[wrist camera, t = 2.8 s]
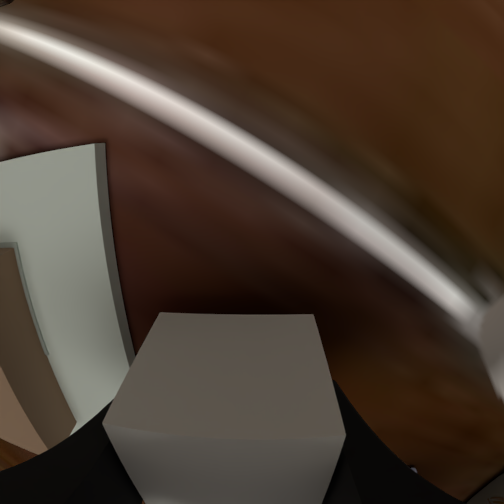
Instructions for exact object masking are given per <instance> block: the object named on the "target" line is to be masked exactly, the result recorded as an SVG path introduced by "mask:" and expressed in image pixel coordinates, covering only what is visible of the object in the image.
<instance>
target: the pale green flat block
mask: <svg viewBox="0 0 504 504" xmlns="http://www.w3.org/2000/svg"><path fill="white" fill-rule="evenodd" d="M134 359H135V353H134V349H133V345H132V340H131V336H130V332H129V327H128V322H127V318H126V313H125V308H124V303H123V297H122V292H121V287H120V281H119V275H118V269H117V262H116V256H115V249H114V241H113V234H112V225H111V217H110V207H109V196H108V184H107V170H106V152H105V143H96V144H88V145H82V146H76V147H70V148H64V149H59V150H53V151H48V152H43V153H38V154H33V155H29V156H24V157H20V158H15V159H11V160H7V161H3V162H0V438H1V439H4V440H6V441H8V442H10V443H12V444H14V445H17V446H19V447H21V448H24V449H26V450H28V451H31V452H33V453H36V454H38V455H39V454H41V453H43V452H45V451H47V450H49V449H50V448H52V447H54V446H55V445H57V444H58V443H60V442H62V441H63V440H65V439H66V438H68V437H69V436H70V435H72V434H73V433H74V432H76V431H77V430H78V429H80V428H81V427H82V426H83V425H84V424H86V423H87V422H88V421H89V420H91V419H92V418H93V417H94V416H95V415H96V414H98V413H99V412H100V411H101V410H102V409H103V408H104V407H105V406H106V405H107V404H108V403H110V402H111V401H112V400H113V399H114V398H115V396H116V394H117V392H118V390H119V388H120V386H121V384H122V382H123V380H124V378H125V376H126V374H127V373H128V371H129V369H130V367H131V365H132V363H133V361H134Z"/></svg>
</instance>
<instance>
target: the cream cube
mask: <svg viewBox="0 0 504 504" xmlns="http://www.w3.org/2000/svg"><path fill="white" fill-rule="evenodd" d="M102 424H103V426H104V428H105V431H106V433H107V435H108V437H109V439H110V441H111V443H112V445H113V447H114V449H115V451H116V453H117V455H118V457H119V458H120V460H121V462H122V464H123V466H124V468H125V470H126V471H127V473H128V475H129V477H130V478H131V480H132V482H133V484H134V485H135V487H136V489H137V490H138V492H139V494H140V495H141V497H142V498H143V500H144V502H145V503H146V504H322V502H323V499H324V496H325V494H326V491H327V489H328V486H329V483H330V481H331V478H332V475H333V473H334V470H335V467H336V464H337V461H338V458H339V455H340V452H341V449H342V446H343V443H344V440H345V437H346V433H345V429H344V425H343V421H342V417H341V413H340V409H339V405H338V401H337V398H336V394H335V390H334V386H333V382H332V379H331V375H330V371H329V368H328V364H327V360H326V357H325V353H324V350H323V346H322V342H321V339H320V335H319V332H318V328H317V325H316V321H315V318H314V314H288V315H238V314H191V313H165V312H160V313H159V315H158V317H157V319H156V320H155V322H154V324H153V326H152V328H151V329H150V331H149V333H148V335H147V337H146V339H145V341H144V342H143V344H142V346H141V348H140V350H139V352H138V354H137V355H136V357H135V359H134V361H133V363H132V365H131V367H130V369H129V371H128V373H127V374H126V376H125V378H124V380H123V382H122V384H121V386H120V388H119V390H118V392H117V394H116V396H115V398H114V400H113V402H112V404H111V406H110V408H109V410H108V412H107V414H106V416H105V418H104V420H103V422H102Z"/></svg>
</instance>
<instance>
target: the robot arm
mask: <svg viewBox="0 0 504 504" xmlns="http://www.w3.org/2000/svg"><path fill="white" fill-rule="evenodd" d="M332 382H333V386H334V390H335V394H336V398H337V401H338V405H339V409H340V413H341V417H342V421H343V425H344V429H345V433H346V437H345V440H344V443H343V446H342V449H341V452H340V455H339V458H338V461H337V464H336V467H335V470H334V473H333V475H332V478H331V481H330V483H329V486H328V489H327V491H326V494H325V496H324V499H323V502H322V504H466V503H464V502H462V501H460V500H458V499H456V498H454V497H452V496H450V495H449V494H447V493H445V492H444V491H442V490H440V489H439V488H437V487H436V486H434V485H433V484H431V483H430V482H428V481H427V480H425V479H424V478H423V477H421V476H420V475H419V474H417V471H416V468H410V467H409V466H407V465H406V464H405V463H404V462H403V461H402V460H401V459H399V458H398V457H397V456H396V455H395V454H394V453H393V452H392V451H391V450H390V449H389V448H388V447H387V446H386V445H385V444H384V443H383V442H382V441H381V440H380V439H379V438H378V436H377V435H376V434H375V433H374V432H373V431H372V430H371V428H370V427H369V426H368V425H367V423H366V422H365V421H364V420H363V419H362V417H361V416H360V415H359V414H358V412H357V411H356V410H355V408H354V407H353V406H352V404H351V403H350V401H349V400H348V399H347V397H346V396H345V394H344V393H343V391H342V390H341V388H340V387H339V385H338V384H337V382H336V381H335V380H332ZM113 400H114V399H113ZM113 400H112V401H111V402H110V403H108V404H107V405H106V406H105V407H104V408H103V409H102V410H101V411H100V412H99V413H98V414H96V415H95V416H94V417H93V418H92V419H91V420H89V421H88V422H87V423H86V424H84V425H83V426H82V427H81V428H80V429H78V430H77V431H76V432H74V433H73V434H72V435H70V436H69V437H68V438H66V439H65V440H63V441H62V442H60V443H58V444H57V445H55V446H54V447H52V448H50V449H49V450H47V451H45V452H43V453H41V454H39V455H37V456H35V457H34V458H32V459H30V460H28V461H25V462H23V463H21V464H18V465H16V466H14V467H11V468H8V469H5V470H2V471H0V504H142V500H143V498H142V497H141V495H140V494H139V492H138V490H137V489H136V487H135V485H134V484H133V482H132V480H131V478H130V477H129V475H128V473H127V471H126V470H125V468H124V466H123V464H122V462H121V460H120V458H119V457H118V455H117V453H116V451H115V449H114V447H113V445H112V443H111V441H110V439H109V437H108V435H107V433H106V431H105V428H104V426H103V424H102V422H103V420H104V418H105V416H106V414H107V412H108V410H109V408H110V406H111V404H112V402H113Z"/></svg>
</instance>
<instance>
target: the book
mask: <svg viewBox="0 0 504 504" xmlns="http://www.w3.org/2000/svg"><path fill="white" fill-rule="evenodd" d="M12 1H13V0H0V6H2V5H5V4H8V3H11V2H12Z"/></svg>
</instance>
